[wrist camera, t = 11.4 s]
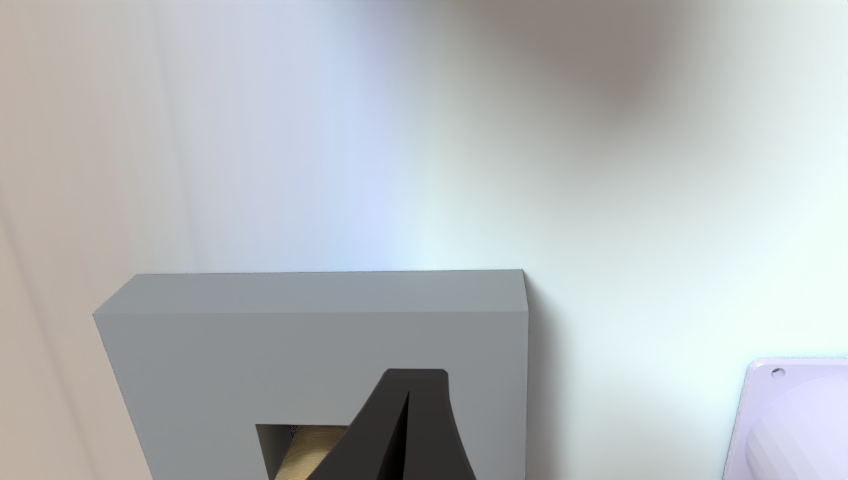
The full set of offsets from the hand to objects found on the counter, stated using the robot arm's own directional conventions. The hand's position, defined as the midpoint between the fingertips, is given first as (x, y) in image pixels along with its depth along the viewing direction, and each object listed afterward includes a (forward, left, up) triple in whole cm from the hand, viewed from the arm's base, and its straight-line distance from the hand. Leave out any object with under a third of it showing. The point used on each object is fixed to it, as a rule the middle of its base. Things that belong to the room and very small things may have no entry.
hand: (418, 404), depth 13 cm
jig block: (+5, +10, -10) cm, 15 cm away
